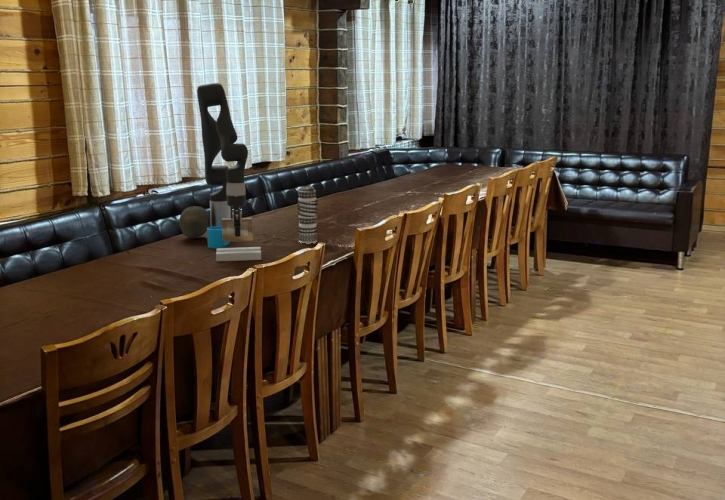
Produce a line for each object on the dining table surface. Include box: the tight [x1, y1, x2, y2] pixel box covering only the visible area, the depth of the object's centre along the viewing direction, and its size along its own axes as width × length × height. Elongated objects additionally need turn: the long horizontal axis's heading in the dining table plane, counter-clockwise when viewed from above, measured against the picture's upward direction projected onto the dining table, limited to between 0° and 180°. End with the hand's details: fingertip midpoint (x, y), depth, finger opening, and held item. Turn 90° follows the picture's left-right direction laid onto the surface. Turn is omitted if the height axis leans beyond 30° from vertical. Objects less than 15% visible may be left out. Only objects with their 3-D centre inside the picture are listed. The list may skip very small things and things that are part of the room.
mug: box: [206, 226, 231, 249], centre depth 295 cm, size 12×8×8 cm
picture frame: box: [222, 217, 254, 242], centre depth 274 cm, size 3×12×9 cm, turn 100°
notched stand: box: [215, 246, 262, 262], centre depth 277 cm, size 10×18×3 cm, turn 100°
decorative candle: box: [296, 186, 319, 245], centre depth 302 cm, size 9×9×25 cm
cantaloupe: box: [178, 205, 211, 240], centre depth 309 cm, size 14×14×15 cm
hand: (237, 235), depth 275 cm, fingers closed on picture frame, 2 cm apart
